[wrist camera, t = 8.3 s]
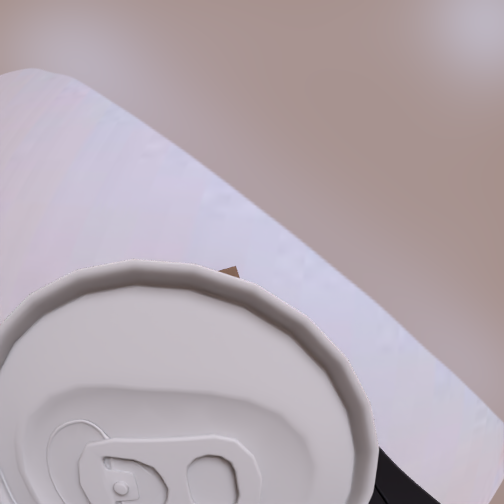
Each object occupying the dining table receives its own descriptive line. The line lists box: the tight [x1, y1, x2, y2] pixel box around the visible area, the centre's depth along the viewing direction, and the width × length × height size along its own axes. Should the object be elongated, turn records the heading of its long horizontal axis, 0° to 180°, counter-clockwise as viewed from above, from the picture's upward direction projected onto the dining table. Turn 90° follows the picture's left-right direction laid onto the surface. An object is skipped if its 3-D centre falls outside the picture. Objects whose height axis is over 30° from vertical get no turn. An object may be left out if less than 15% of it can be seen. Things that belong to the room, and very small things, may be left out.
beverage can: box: [0, 259, 379, 504], centre depth 8 cm, size 5×5×12 cm
